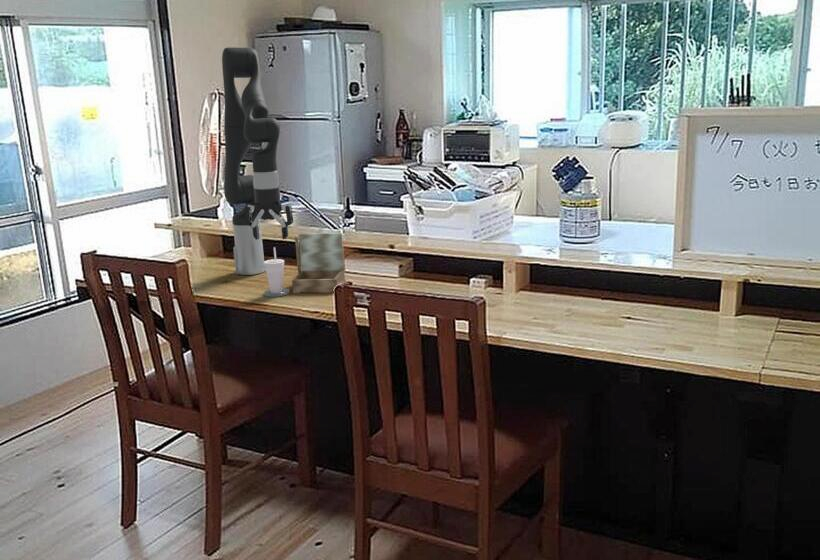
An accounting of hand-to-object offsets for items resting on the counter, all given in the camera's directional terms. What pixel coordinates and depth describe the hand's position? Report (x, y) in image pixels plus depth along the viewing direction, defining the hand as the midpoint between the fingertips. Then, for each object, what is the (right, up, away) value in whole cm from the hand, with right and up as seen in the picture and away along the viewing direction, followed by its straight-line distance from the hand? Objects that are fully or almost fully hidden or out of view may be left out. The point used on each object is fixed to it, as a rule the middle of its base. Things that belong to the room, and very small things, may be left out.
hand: (270, 238), depth 246 cm
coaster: (+1, -17, +4) cm, 17 cm away
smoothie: (+1, -16, +4) cm, 17 cm away
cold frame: (+14, -15, +9) cm, 22 cm away
